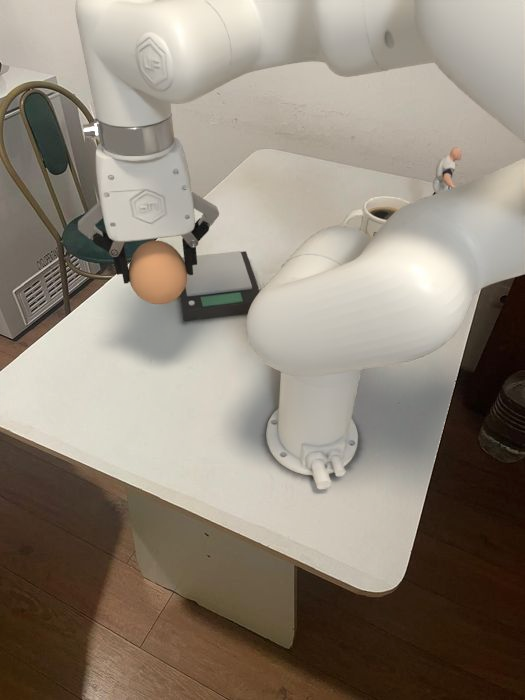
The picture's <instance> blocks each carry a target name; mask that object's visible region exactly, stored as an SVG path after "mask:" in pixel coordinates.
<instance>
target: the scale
mask: <svg viewBox="0 0 525 700" xmlns="http://www.w3.org/2000/svg"><path fill="white" fill-rule="evenodd" d="M181 257H182V258H183V260H184V256H181ZM184 263H185V261H184ZM192 266H193V275H189V274H187V283H186V286H185V289H184V290H183V292H182V293H181V294H180V296H179V301H180V309H181V314H182V320H183V321H182V322H183V323H184V322H185V323H187V322H194V321H201V320H209V319H217V318H226V317H234V316H243V315H248V311H249V309H250V306H251V304H252V302H253V301H254V299H255V298H256V296H257V295H258V294H259V292H260V291H261V290H260V288H259V285H258V282H257V280H256V277H255V274H254V271H253V267H252V264H251V262H250V258H249V256H248V253H247V251H246V250H245V251H243V250H242V251H241V250H239V251H229V252H219V253H218V252H217V253H210V254H200V255H197V265H192Z"/></svg>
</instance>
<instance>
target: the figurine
mask: <svg viewBox="0 0 525 700" xmlns="http://www.w3.org/2000/svg"><path fill="white" fill-rule="evenodd" d="M461 160H462V150H461V149H460V148H459V147H458V146H457V147H453V148H452V149H451V150H450V153H448V154H446V155H444V156H443V157H442V158H440V159H439V160H438V162H437V164H436V166H435V177H434V179H433V181H432V189H433V191H434V192H433V193H432V195H434V194H437V193H440V192H443V191H445V190H448V189H450V188H453V187H456V185H455V184H454V183H453V180H452V179H453V176H454V172H455V170H456V168H457V166H458V165H457V162H456V161H461Z"/></svg>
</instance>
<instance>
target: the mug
mask: <svg viewBox="0 0 525 700" xmlns="http://www.w3.org/2000/svg"><path fill="white" fill-rule="evenodd" d="M410 203H411V202H410V201H408V200H406V199H404V198H400V197H396V196H388V195H382V196H375V197H371V198H369V199H367V200H366V201H365V203H364V204H363V209H355V210H353V211H351V212H350V213H348V214H347V215H346V216H345V218H344V220H343V222H342V224H341V226H347V225H348V223H349V222H350V221H351V220H352V219H354V218H357V217H361V219H360V220H361V221H360V227H359V230H360V231H362V232H364V233H365V234H366V235H368V236H369V237H370V238H371V239H372V238H373V237H374V236H375V234H376V233H377V232H378V230H379V229H380V228H381V226H382V225H383V224H384V223H385V222H386V220H387V219H388V218H389V217H390V216H391V215H392V214H393V213H395V212H396V211H397V210H398V209H400V208H401V207H403V206H405V205H407V204H410Z"/></svg>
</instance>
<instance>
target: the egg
mask: <svg viewBox="0 0 525 700" xmlns="http://www.w3.org/2000/svg"><path fill="white" fill-rule="evenodd" d="M182 257H183V256H181V254H180V252H179V251H178V250H177V249H176V248H175V247H174V246H173V245H171V244H170V243H168V242H165V241H162V240H157V239H153V240H149V241H146V242H144V243H142V244H141V245H139V246H138V247H137V248H136V250H135V251H134V253H133V254H132V256H131V259H130V261H129V264H128V269H129V278H130V282H129V284H130V287H131V289H132V291H133V292H134V293H135V295H137V296H138V298H140V299H141V300H143V301H145V302H146V303H149V304H151V305H152V304H154V305H166V304H169V303H171V302H174V301H175V300H176V299H178V298H180V294H181V293H182V292H183V290H184V289H185V286H186V283H187V270H186V265H185V263H184V260H183V258H182Z"/></svg>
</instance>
